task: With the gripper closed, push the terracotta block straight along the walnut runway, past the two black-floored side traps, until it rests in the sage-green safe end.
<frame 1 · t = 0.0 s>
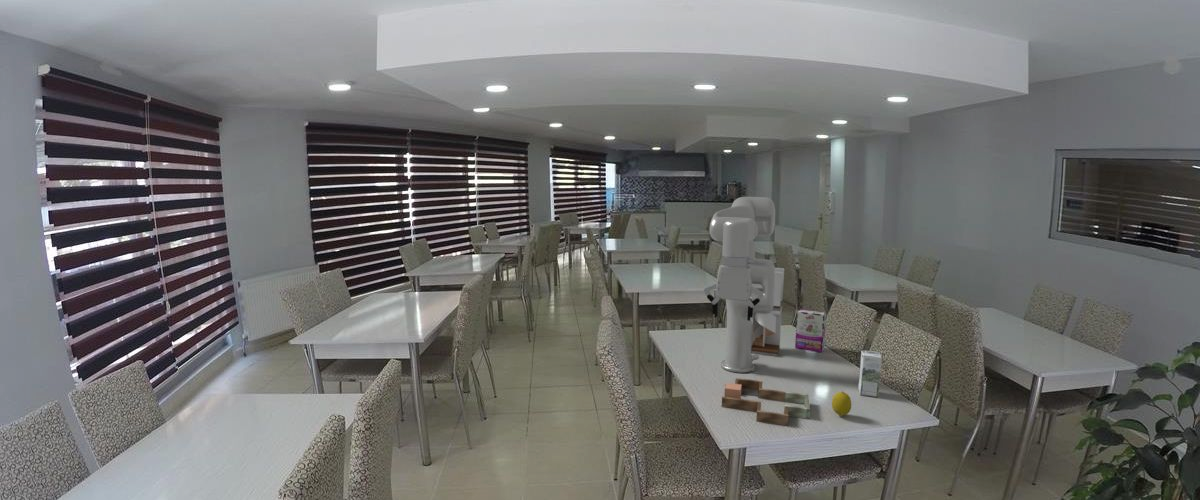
hand: (732, 318, 165), 31 cm above the table, tool pointing down, fingers open, 9 cm apart
candy bar box: (809, 349, 235), on the table
display case: (764, 351, 232), on the table
syrup box: (867, 394, 189), on the table
trap box: (764, 404, 179), on the table
block: (732, 400, 182), on the table
lemon: (840, 416, 171), on the table
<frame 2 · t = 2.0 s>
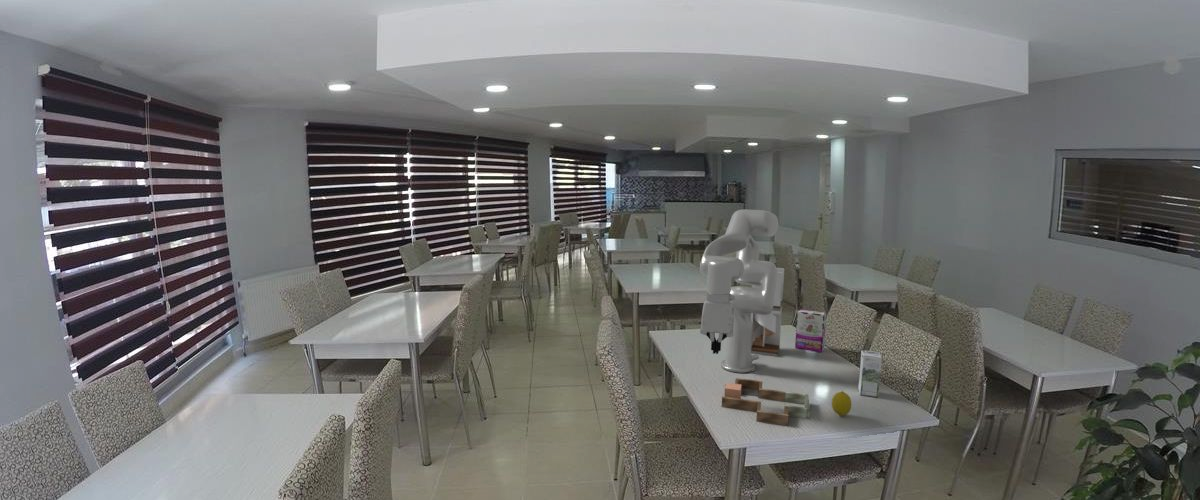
hand: (715, 352, 181), 16 cm above the table, tool pointing down, fingers closed
nothing on the table moved.
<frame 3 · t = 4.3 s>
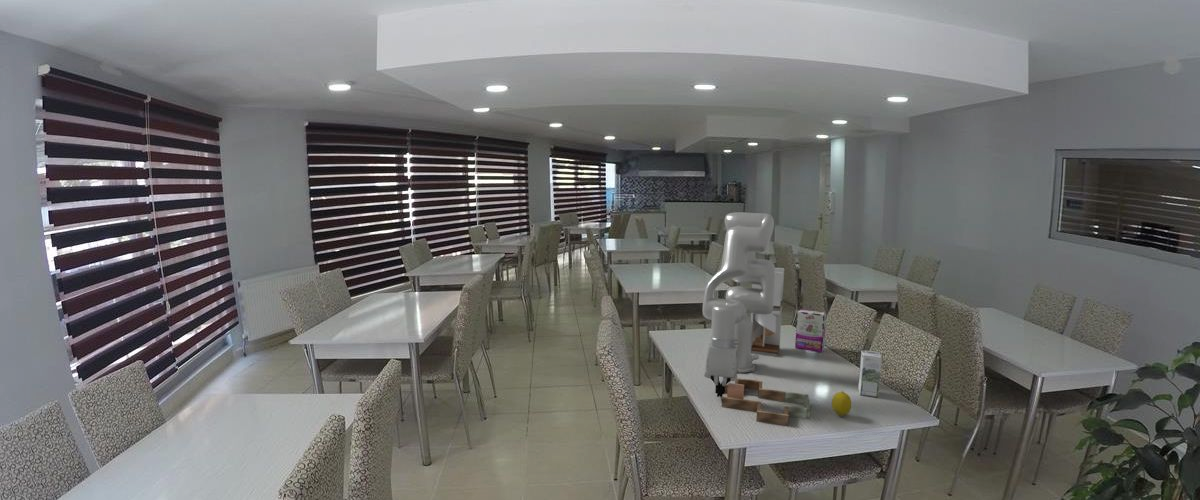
hand: (719, 395, 183), 1 cm above the table, tool pointing down, fingers closed
block: (735, 401, 181), on the table, touching gripper
everything else where it was.
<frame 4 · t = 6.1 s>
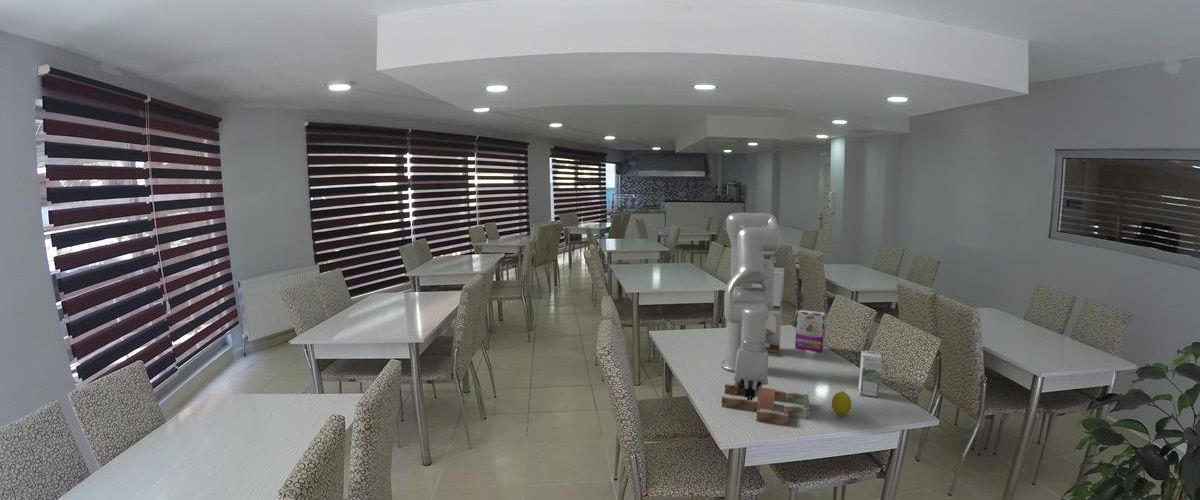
hand: (749, 399, 180), 1 cm above the table, tool pointing down, fingers closed
block: (765, 405, 178), on the table, touching gripper
everything else where it was.
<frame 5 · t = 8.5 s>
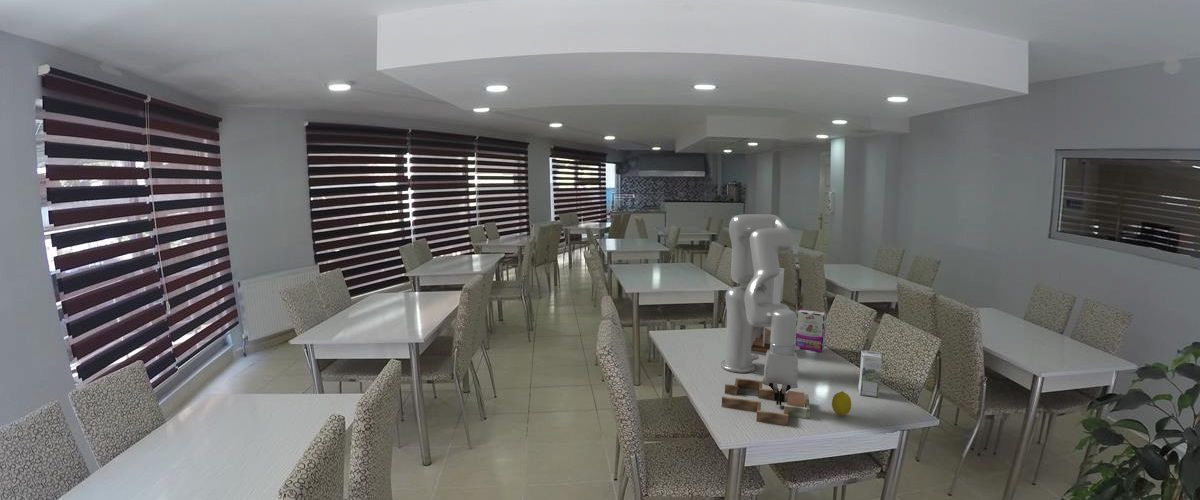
hand: (778, 403, 177), 1 cm above the table, tool pointing down, fingers closed
block: (795, 409, 175), on the table, touching gripper
everything else where it was.
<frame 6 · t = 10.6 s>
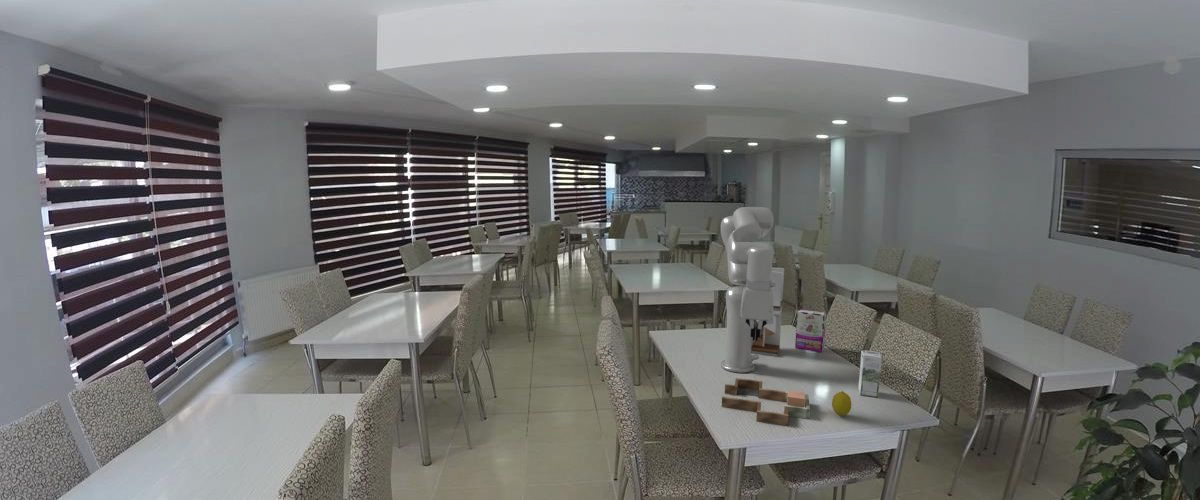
hand: (755, 339, 180), 20 cm above the table, tool pointing down, fingers closed
block: (795, 409, 175), on the table
everything else where it was.
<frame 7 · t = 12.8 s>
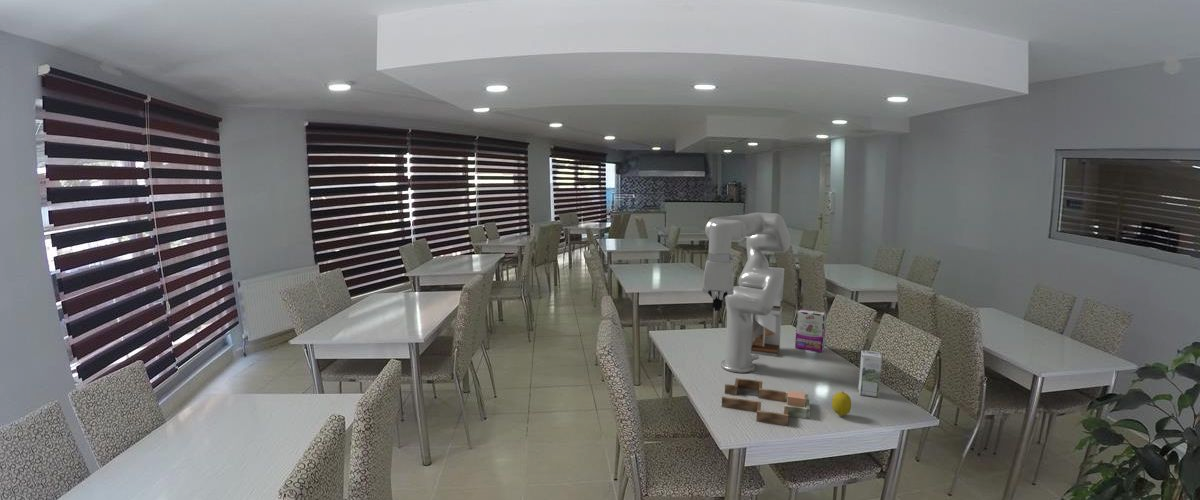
hand: (717, 309, 191), 27 cm above the table, tool pointing down, fingers closed
nothing on the table moved.
at the end: block inside the target area (0.3 cm from its centre), on the table; block moved 19.5 cm from its start; block tilted 0° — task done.
